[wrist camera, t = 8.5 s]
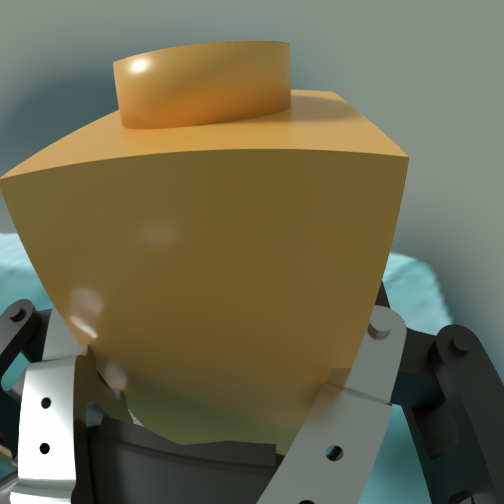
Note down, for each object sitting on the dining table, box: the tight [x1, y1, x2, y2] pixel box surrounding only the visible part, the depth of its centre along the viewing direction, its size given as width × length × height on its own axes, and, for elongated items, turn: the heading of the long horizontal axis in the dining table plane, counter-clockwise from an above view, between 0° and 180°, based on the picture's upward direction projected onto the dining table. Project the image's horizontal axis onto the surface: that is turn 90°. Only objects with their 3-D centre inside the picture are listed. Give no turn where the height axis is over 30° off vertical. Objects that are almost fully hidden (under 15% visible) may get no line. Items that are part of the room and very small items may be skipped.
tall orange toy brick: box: [0, 41, 409, 456], centre depth 8 cm, size 6×6×13 cm
